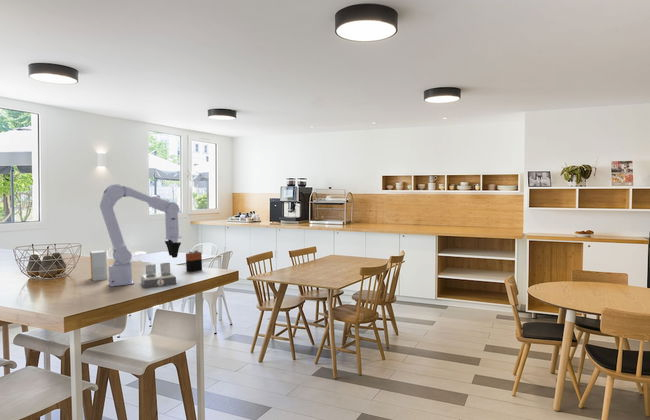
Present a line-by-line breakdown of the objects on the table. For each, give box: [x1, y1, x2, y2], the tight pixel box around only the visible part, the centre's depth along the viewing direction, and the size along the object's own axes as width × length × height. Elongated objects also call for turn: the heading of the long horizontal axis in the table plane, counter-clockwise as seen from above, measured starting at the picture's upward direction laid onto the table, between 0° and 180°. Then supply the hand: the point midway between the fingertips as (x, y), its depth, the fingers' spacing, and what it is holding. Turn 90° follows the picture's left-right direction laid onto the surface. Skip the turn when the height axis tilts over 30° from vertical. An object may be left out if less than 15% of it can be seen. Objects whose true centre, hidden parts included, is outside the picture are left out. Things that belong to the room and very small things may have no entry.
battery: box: [185, 250, 203, 273], centre depth 226 cm, size 4×7×10 cm, turn 141°
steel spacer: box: [160, 262, 171, 276], centre depth 198 cm, size 4×4×5 cm
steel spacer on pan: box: [145, 263, 157, 277], centre depth 195 cm, size 4×4×5 cm
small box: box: [89, 249, 108, 282], centre depth 211 cm, size 8×6×13 cm
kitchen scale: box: [140, 271, 177, 289], centre depth 196 cm, size 13×12×4 cm
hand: (173, 256), depth 210 cm, fingers open, 7 cm apart
